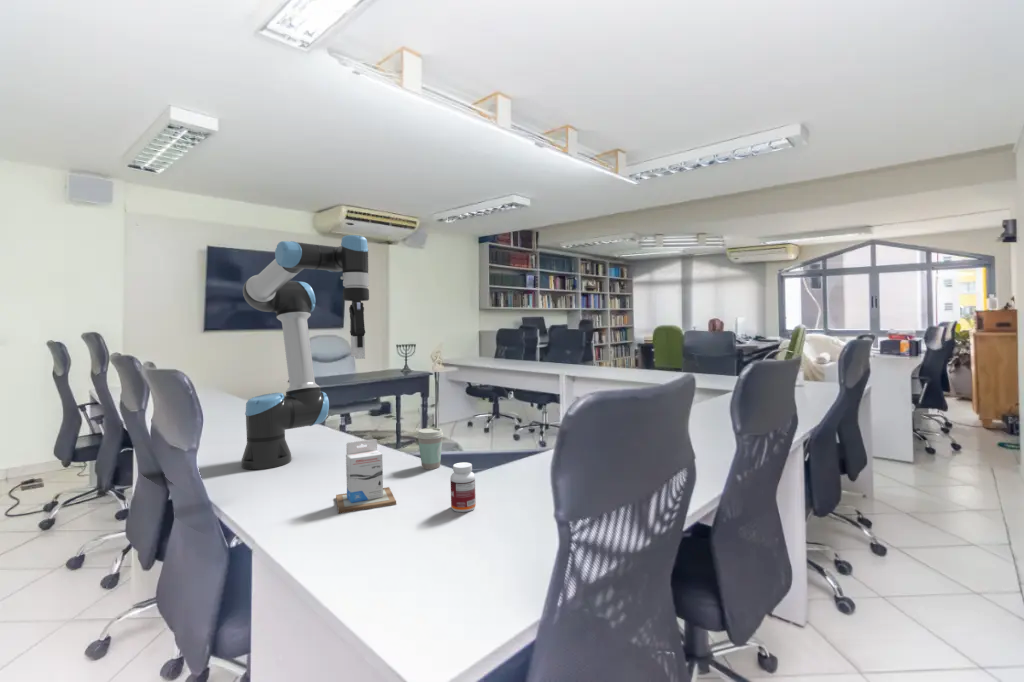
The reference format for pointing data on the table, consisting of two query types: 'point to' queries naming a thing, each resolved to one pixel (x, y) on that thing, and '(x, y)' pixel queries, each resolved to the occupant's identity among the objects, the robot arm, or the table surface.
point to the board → (365, 502)
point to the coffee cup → (430, 447)
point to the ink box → (364, 471)
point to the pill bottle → (463, 488)
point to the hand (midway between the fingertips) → (357, 357)
